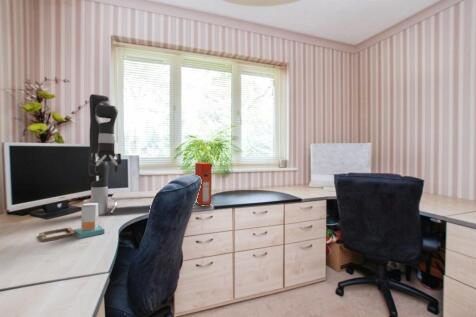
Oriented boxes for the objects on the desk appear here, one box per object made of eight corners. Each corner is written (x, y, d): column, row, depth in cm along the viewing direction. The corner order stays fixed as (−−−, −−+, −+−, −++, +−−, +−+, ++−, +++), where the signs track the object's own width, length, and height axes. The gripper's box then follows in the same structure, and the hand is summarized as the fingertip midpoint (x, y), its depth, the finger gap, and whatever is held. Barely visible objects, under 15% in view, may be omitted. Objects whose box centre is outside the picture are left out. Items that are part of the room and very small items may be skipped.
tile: (74, 233, 111) (74, 228, 111) (97, 228, 118) (97, 224, 118) (79, 238, 104) (79, 233, 104) (104, 233, 111) (104, 228, 111)
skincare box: (80, 230, 108) (81, 205, 108) (84, 227, 112) (84, 203, 112) (95, 229, 110) (95, 204, 110) (98, 226, 114) (98, 202, 114)
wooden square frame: (39, 235, 107) (39, 232, 107) (70, 229, 116) (70, 227, 116) (43, 242, 99) (43, 239, 99) (76, 235, 108) (76, 232, 108)
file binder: (200, 206, 173) (201, 163, 173) (194, 201, 188) (195, 162, 188) (211, 205, 176) (211, 163, 176) (204, 201, 192) (204, 162, 192)
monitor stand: (109, 215, 146) (110, 197, 146) (114, 205, 172) (114, 191, 171) (170, 210, 160) (170, 194, 160) (166, 202, 186) (166, 189, 186)
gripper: (118, 143, 131) (117, 171, 132) (89, 141, 121) (88, 172, 121) (123, 142, 126) (122, 172, 127) (93, 141, 116) (93, 173, 116)
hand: (106, 172), depth 124 cm, fingers open, 8 cm apart
